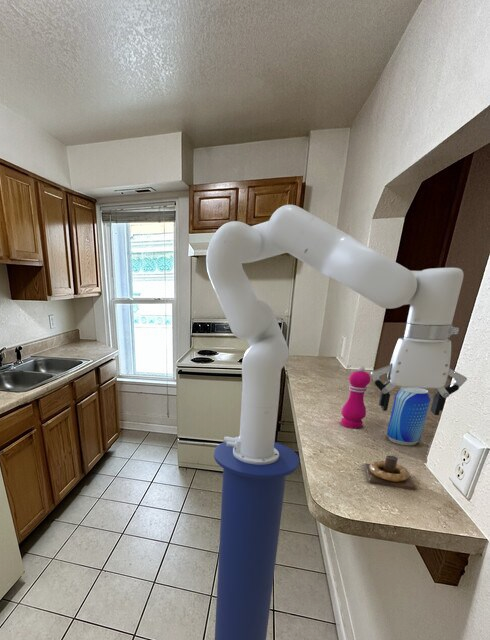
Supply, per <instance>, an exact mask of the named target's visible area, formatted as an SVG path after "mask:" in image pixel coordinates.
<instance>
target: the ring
mask: <svg viewBox="0 0 490 640" xmlns="http://www.w3.org/2000/svg"><path fill="white" fill-rule="evenodd" d="M369 464H370V466H369V468H370V471H371V473H372V474H374V475H375V476H377V477H379V478H381V479H384V480H388V481H394V482H399V481H405V480H406V479H408V478H409V477H410V476H411V475H410V472H409V470H408V469H407V468H406V467H404V466H403V465H401V464H398V463H397V465H396V469H395V471H396V472H398V473H399V474H392V473H387V472H384V471H381V470H380V469H379V468H384V464H385V460H377V461H376V460H375V461H373V462H372V463H369Z"/></svg>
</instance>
